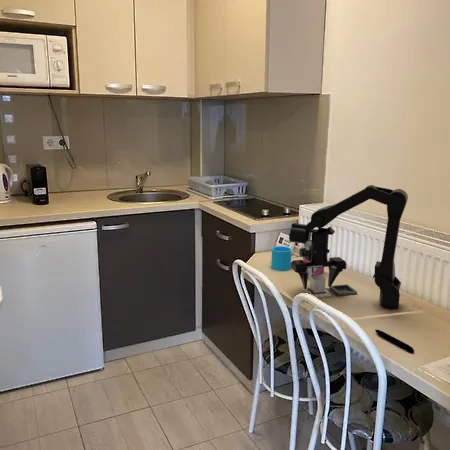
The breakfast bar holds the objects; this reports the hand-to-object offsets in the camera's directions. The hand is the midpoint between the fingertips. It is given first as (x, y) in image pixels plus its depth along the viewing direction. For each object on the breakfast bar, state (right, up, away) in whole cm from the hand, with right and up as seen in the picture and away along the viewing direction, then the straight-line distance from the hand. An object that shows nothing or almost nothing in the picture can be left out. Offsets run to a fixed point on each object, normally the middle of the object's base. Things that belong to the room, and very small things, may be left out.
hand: (317, 287), depth 164 cm
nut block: (0, -2, +1) cm, 2 cm away
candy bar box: (+2, +1, +20) cm, 21 cm away
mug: (-10, +4, +33) cm, 34 cm away
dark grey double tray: (+5, -3, +2) cm, 6 cm away
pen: (+15, -12, -32) cm, 37 cm away
